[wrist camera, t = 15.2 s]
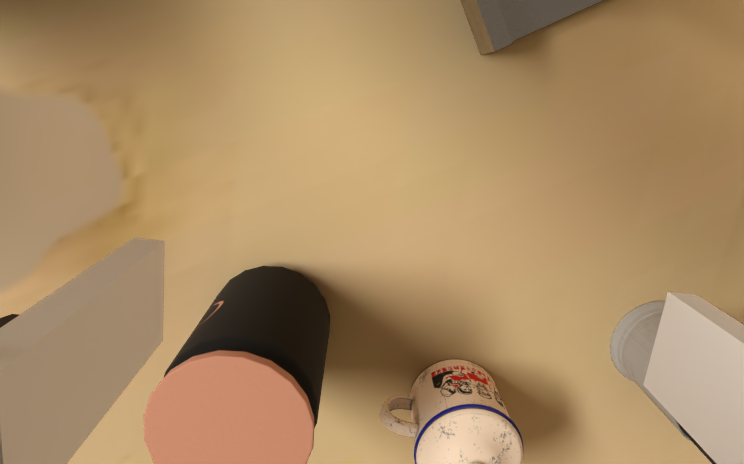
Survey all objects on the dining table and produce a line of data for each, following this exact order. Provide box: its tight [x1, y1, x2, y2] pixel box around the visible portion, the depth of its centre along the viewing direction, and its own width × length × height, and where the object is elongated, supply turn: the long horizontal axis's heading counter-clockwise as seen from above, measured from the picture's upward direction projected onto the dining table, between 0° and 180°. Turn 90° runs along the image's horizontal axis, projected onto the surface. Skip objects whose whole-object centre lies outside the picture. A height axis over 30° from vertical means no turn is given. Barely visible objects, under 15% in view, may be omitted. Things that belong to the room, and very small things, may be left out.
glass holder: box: [610, 301, 716, 464], centre depth 46 cm, size 9×14×15 cm, turn 43°
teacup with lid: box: [380, 359, 523, 464], centre depth 49 cm, size 12×9×12 cm
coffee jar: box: [144, 266, 330, 464], centre depth 43 cm, size 11×11×18 cm
